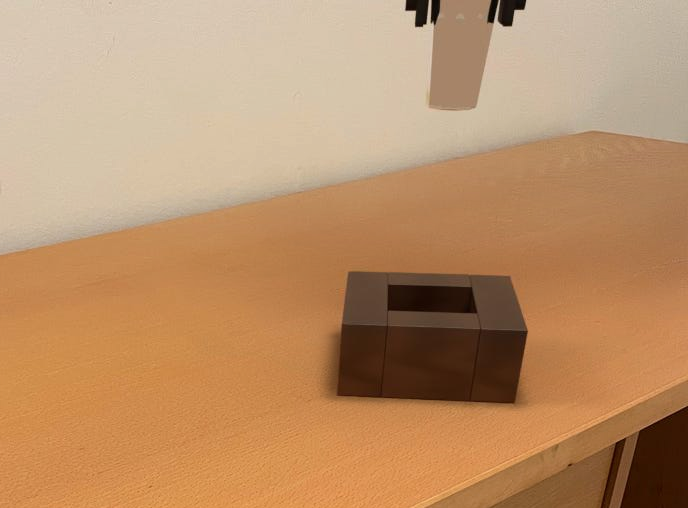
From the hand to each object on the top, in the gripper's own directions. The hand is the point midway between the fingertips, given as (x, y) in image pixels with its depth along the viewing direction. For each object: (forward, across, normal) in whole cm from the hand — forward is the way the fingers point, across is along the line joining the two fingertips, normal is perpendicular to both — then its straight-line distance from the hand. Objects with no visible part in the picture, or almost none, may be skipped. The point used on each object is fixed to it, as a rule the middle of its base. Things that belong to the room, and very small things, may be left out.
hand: (462, 21), depth 62 cm
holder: (+21, 0, -4) cm, 22 cm away
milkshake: (+5, 0, 0) cm, 5 cm away
